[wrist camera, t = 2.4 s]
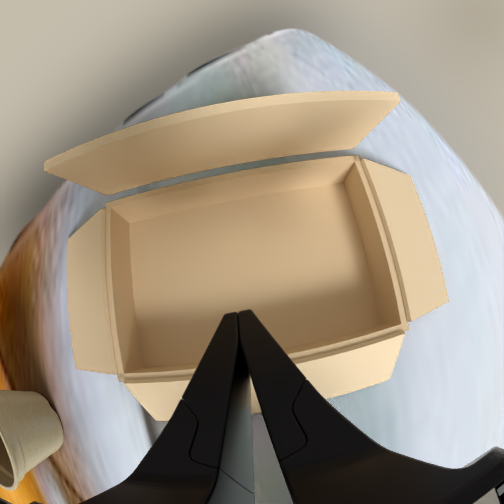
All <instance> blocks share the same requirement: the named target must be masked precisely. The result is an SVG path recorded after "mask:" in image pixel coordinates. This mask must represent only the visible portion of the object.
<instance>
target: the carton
mask: <svg viewBox="0 0 504 504" xmlns="http://www.w3.org/2000/svg"><path fill="white" fill-rule="evenodd" d="M67 293H68V309H69V321H70V331H71V339H72V347H73V354H74V360H75V366H76V369H80V370H86V371H92V372H99V373H106V374H117V375H118V380H119V381H124V385H125V386H126V387H127V388H128V390H129V391H130V392H131V393H132V394H133V395H134V397H135V398H136V399H137V400H138V401H139V402H140V404H141V405H142V406H143V407H144V408H145V409H146V410H147V411H148V412H149V414H150V415H151V416H152V417H153V418H154V419H155V420H156V421H169V420H170V418H171V416H172V414H173V412H174V411H175V409H176V407H177V405H178V403H179V401H180V399H182V395H183V393H184V392H185V390H186V388H187V386H188V384H189V382H190V380H191V378H192V376H193V374H194V372H195V370H196V368H197V366H198V364H199V362H200V360H201V358H202V356H203V355H204V353H205V351H206V349H207V347H208V345H209V343H210V341H211V339H212V337H213V335H214V333H215V331H216V329H217V327H218V325H219V323H220V321H221V319H222V317H223V315H224V314H226V313H230V312H237V313H238V312H239V311H241V310H247V309H251V310H252V311H253V312H254V313H255V315H256V316H257V317H258V318H259V320H260V321H261V322H262V324H263V325H264V326H265V327H266V329H267V330H268V331H269V332H270V334H271V335H272V336H273V337H274V339H275V340H276V341H277V342H278V344H279V345H280V346H281V347H282V349H283V350H284V351H285V352H286V354H287V355H288V356H289V357H290V359H291V360H292V361H293V362H294V363H295V365H296V366H297V367H298V368H299V370H300V371H301V372H302V373H303V374H304V376H305V377H306V379H307V380H309V381H310V383H311V384H312V385H313V386H314V387H315V389H316V390H317V391H318V392H319V393H320V394H321V395H322V396H323V397H324V398H325V399H328V398H332V397H336V396H340V395H343V394H347V393H350V392H353V391H357V390H360V389H363V388H366V387H369V386H372V385H375V384H378V383H381V382H384V381H387V380H389V379H390V377H391V374H392V371H393V368H394V366H395V363H396V360H397V357H398V354H399V351H400V348H401V345H402V342H403V339H404V335H405V333H404V331H407V330H409V325H408V322H410V321H413V320H415V319H417V318H419V317H421V316H423V315H425V314H426V313H428V312H430V311H432V310H434V309H436V308H438V307H439V306H441V305H443V304H445V303H447V302H448V301H449V300H448V295H447V290H446V285H445V281H444V276H443V272H442V268H441V264H440V260H439V257H438V253H437V249H436V246H435V243H434V239H433V236H432V233H431V230H430V227H429V224H428V221H427V218H426V215H425V212H424V209H423V206H422V204H421V201H420V198H419V196H418V193H417V190H416V188H415V185H414V183H413V181H412V178H411V176H410V175H407V174H405V173H402V172H400V171H397V170H394V169H392V168H389V167H387V166H384V165H381V164H378V163H375V162H373V161H370V160H367V159H364V158H363V159H362V160H360V157H359V155H353V156H342V157H333V158H324V159H315V160H307V161H299V162H292V163H285V164H278V165H272V166H265V167H259V168H253V169H248V170H242V171H236V172H231V173H226V174H221V175H216V176H211V177H206V178H201V179H197V180H192V181H188V182H183V183H179V184H175V185H170V186H166V187H162V188H158V189H154V190H150V191H146V192H143V193H139V194H135V195H131V196H128V197H124V198H121V199H117V200H114V201H110V202H107V203H105V209H104V208H101V209H100V210H99V211H98V212H96V213H95V214H94V215H93V216H92V217H91V218H90V219H89V220H88V221H87V222H86V223H84V224H83V225H82V226H81V227H80V228H79V229H78V230H77V231H76V232H75V233H74V234H73V235H72V236H71V237H70V238H69V239H68V240H67ZM250 379H251V377H250ZM251 409H252V414H255V413H261V409H260V405H259V402H258V399H257V396H256V393H255V390H254V387H253V383H252V380H251Z"/></svg>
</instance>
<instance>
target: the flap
mask: <svg viewBox="0 0 504 504" xmlns="http://www.w3.org/2000/svg"><path fill="white" fill-rule="evenodd" d="M400 102H401V100H400V98H399V96H398V93H397V92H380V91H321V92H303V93H291V94H280V95H271V96H263V97H255V98H248V99H242V100H236V101H230V102H224V103H219V104H214V105H209V106H204V107H199V108H195V109H191V110H186V111H182V112H178V113H174V114H170V115H167V116H163V117H159V118H156V119H153V120H149V121H146V122H143V123H139V124H136V125H133V126H130V127H127V128H124V129H121V130H118V131H115V132H113V133H110V134H107V135H105V136H102V137H99V138H97V139H94V140H91V141H89V142H87V143H84V144H82V145H79V146H77V147H75V148H72V149H70V150H68V151H66V152H63V153H61V154H59V155H57V156H55V157H53V158H51V159H49V160H47V161H45V162H44V171H46V172H48V173H51V174H53V175H56V176H58V177H61V178H64V179H66V180H69V181H71V182H74V183H76V184H79V185H82V186H84V187H87V188H89V189H92V190H94V191H97V192H99V193H102V194H105V195H107V196H108V195H111V194H115V193H118V192H121V191H125V190H128V189H132V188H135V187H139V186H143V185H146V184H150V183H154V182H158V181H162V180H166V179H170V178H174V177H178V176H183V175H187V174H191V173H196V172H200V171H205V170H210V169H215V168H220V167H225V166H230V165H236V164H241V163H247V162H253V161H259V160H265V159H271V158H278V157H285V156H292V155H300V154H308V153H316V152H325V151H335V150H346V149H354V148H355V147H356V146H357V145H358V144H359V143H360V142H361V141H362V140H363V139H364V138H365V137H366V136H367V135H368V134H369V133H370V132H371V131H372V130H373V129H374V128H375V127H376V126H377V125H378V124H379V123H380V122H381V121H382V120H383V119H384V118H385V117H386V116H387V115H388V114H389V113H390V112H391V111H392V110H393V109H394V108H395V107H396V106H397V105H398V104H399V103H400Z"/></svg>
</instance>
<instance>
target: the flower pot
mask: <svg viewBox="0 0 504 504" xmlns="http://www.w3.org/2000/svg"><path fill="white" fill-rule="evenodd" d="M63 440H64V435H63V429H62V425H61V422H60V420H59V417H58V415H57V413H56V412H55V411H54V410H53V409H52V408H51V407H50V405H49V403H48V401H47V399H45V398H44V397H43V396H42V395H40V394H39V393H37V392H33V391H11V390H0V486H1V487H3V488H4V489H6V490H9V491H11V490H15V489H16V488H17V487H18V484H19V481H21V480H22V479H23V477H24V475H25V473H27V472H28V471H29V470H31V469H32V468H33V467H35V466H36V465H37V464H39V463H40V462H41V461H43V460H44V459H46V458H47V457H48V456H50V455H51V454H53V453H54V452H55V451H57V450H58V449H59V448H60V447H61V445H62V444H63Z"/></svg>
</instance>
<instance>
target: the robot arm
mask: <svg viewBox="0 0 504 504" xmlns="http://www.w3.org/2000/svg"><path fill="white" fill-rule="evenodd" d="M250 377H251V379H250ZM251 380H252V383H253V387H254V390H255V393H256V396H257V399H258V402H259V405H260V409H261V412H262V415H263V418H264V421H265V424H266V427H267V430H268V433H269V436H270V439H271V442H272V445H273V448H274V450H275V453H276V456H277V459H278V462H279V465H280V468H281V470H282V473H283V476H284V479H285V482H286V484H287V487H288V490H289V493H290V495H291V498H292V501H293V504H504V449H502V448H499V447H494V448H492V449H490V450H489V451H487V452H486V453H484V454H483V455H481V456H480V457H478V458H477V459H475V460H474V461H472V462H471V463H469V464H467V465H466V466H464V467H463V468H458V469H451V468H445V467H441V466H437V465H434V464H430V463H427V462H424V461H420V460H417V459H414V458H411V457H408V456H405V455H402V454H399V453H396V452H393V451H391V450H388V449H386V448H385V447H383V446H381V445H379V444H378V443H376V442H375V441H374V440H372V439H371V438H370V437H368V436H367V435H366V434H365V433H363V432H362V431H361V430H360V429H358V428H357V427H356V426H355V425H354V424H352V423H351V422H350V421H349V420H348V419H346V418H345V417H344V416H343V415H342V414H341V413H339V412H338V411H337V410H336V409H335V408H334V407H333V406H332V405H331V404H330V403H329V402H328V401H326V399H325V398H324V397H323V396H322V395H321V394H320V393H319V392H318V391H317V390H316V389H315V387H314V386H313V385H312V384H311V383H310V381H309V380H307V379H306V377H305V376H304V374H303V373H302V372H301V371H300V370H299V368H298V367H297V366H296V365H295V363H294V362H293V361H292V360H291V359H290V357H289V356H288V355H287V354H286V352H285V351H284V350H283V349H282V347H281V346H280V345H279V344H278V342H277V341H276V340H275V339H274V337H273V336H272V335H271V334H270V332H269V331H268V330H267V329H266V327H265V326H264V325H263V324H262V322H261V321H260V320H259V318H258V317H257V316H256V315H255V313H254V312H253V311H252V310H251V309H247V310H241V311H239V312H238V313H237V312H230V313H226V314H224V315H223V317H222V319H221V321H220V323H219V325H218V327H217V329H216V331H215V333H214V335H213V337H212V339H211V341H210V343H209V345H208V347H207V349H206V351H205V353H204V355H203V356H202V358H201V360H200V362H199V364H198V366H197V368H196V370H195V372H194V374H193V376H192V378H191V380H190V382H189V384H188V386H187V388H186V390H185V392H184V393H183V395H182V399H180V401H179V403H178V405H177V407H176V409H175V411H174V412H173V414H172V416H171V418H170V420H169V421H168V423H167V425H166V426H165V428H164V429H163V431H162V432H161V434H160V435H159V437H158V438H157V440H156V441H155V443H154V444H153V445H152V447H151V448H150V450H149V451H148V453H147V454H146V455H145V457H144V458H143V460H142V461H141V462H140V464H139V465H138V467H137V468H136V469H135V470H134V472H133V473H132V474H131V475H130V476H129V477H128V478H127V479H125V480H124V481H123V482H121V483H120V484H118V485H116V486H114V487H112V488H110V489H108V490H106V491H104V492H103V493H100V494H98V495H96V496H94V497H92V498H90V499H88V500H86V501H84V502H81V503H79V504H255V499H254V495H253V494H254V472H253V441H252V409H251ZM0 504H12V503H9V502H7V501H5V500H3V499H1V498H0ZM30 504H42V503H39V502H36V501H33V502H32V503H30Z"/></svg>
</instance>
